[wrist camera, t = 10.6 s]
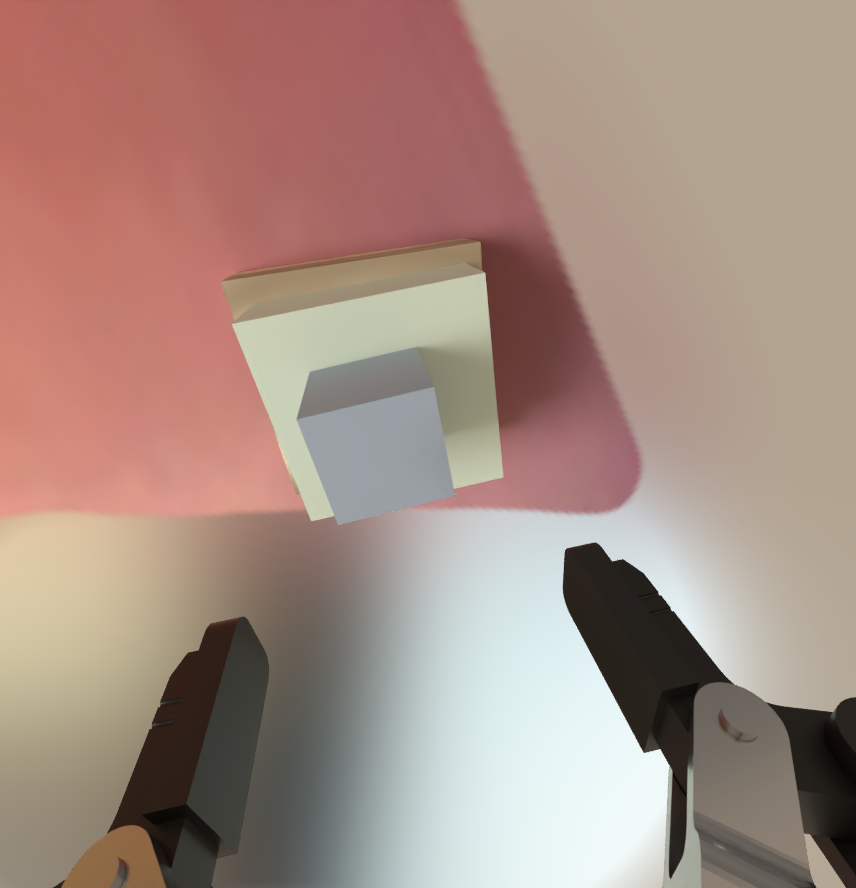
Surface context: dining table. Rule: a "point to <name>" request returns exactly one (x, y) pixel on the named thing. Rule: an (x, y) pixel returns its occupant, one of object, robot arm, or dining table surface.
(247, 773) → the robot arm
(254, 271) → the base block
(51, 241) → the dining table surface
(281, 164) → the dining table surface
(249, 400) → the dining table surface
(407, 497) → the slate cube
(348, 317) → the top block
